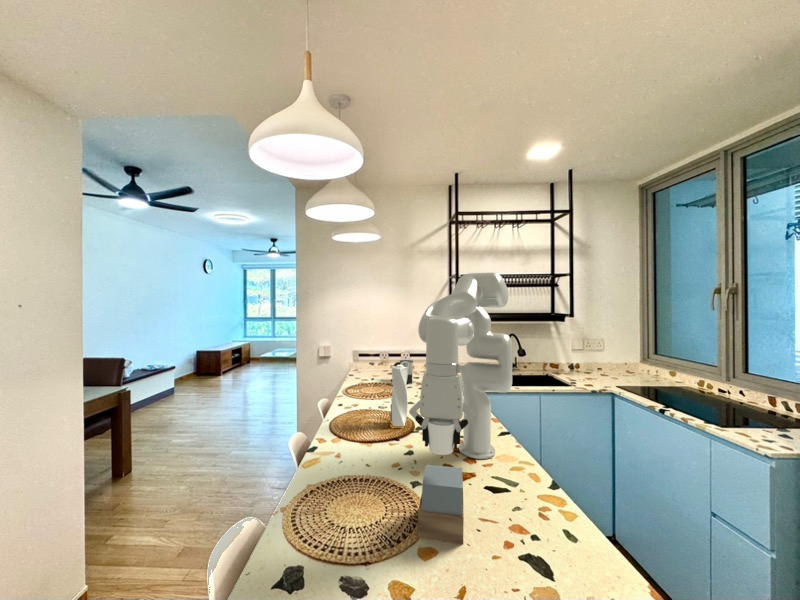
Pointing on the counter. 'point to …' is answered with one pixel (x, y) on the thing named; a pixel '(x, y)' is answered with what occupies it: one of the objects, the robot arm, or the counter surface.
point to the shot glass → (441, 436)
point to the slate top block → (442, 490)
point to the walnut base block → (440, 526)
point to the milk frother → (409, 378)
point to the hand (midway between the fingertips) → (441, 444)
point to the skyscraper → (399, 395)
